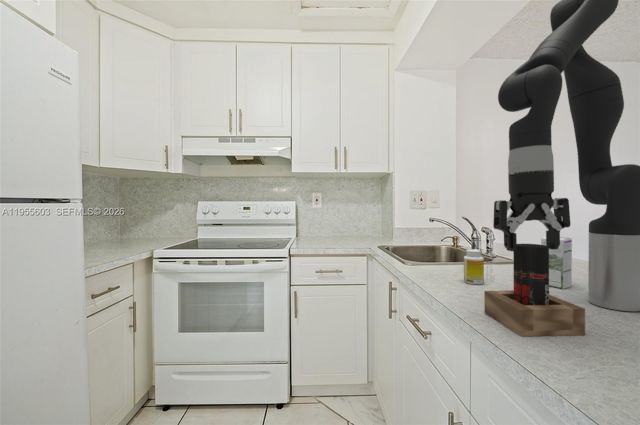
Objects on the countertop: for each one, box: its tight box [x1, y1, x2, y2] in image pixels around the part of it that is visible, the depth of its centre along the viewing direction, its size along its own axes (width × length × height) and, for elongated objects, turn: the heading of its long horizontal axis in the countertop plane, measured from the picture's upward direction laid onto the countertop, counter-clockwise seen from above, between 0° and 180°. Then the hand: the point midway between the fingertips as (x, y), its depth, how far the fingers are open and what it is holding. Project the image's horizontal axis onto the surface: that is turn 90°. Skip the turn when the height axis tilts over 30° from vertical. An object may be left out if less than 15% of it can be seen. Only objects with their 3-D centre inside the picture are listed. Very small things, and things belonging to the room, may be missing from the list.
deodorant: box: [512, 243, 550, 305], centre depth 60 cm, size 6×6×15 cm
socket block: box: [483, 289, 586, 337], centre depth 60 cm, size 12×12×5 cm
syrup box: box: [540, 236, 573, 290], centre depth 86 cm, size 6×6×14 cm
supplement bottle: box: [463, 249, 485, 285], centre depth 91 cm, size 6×6×10 cm
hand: (531, 249), depth 60 cm, fingers open, 8 cm apart
